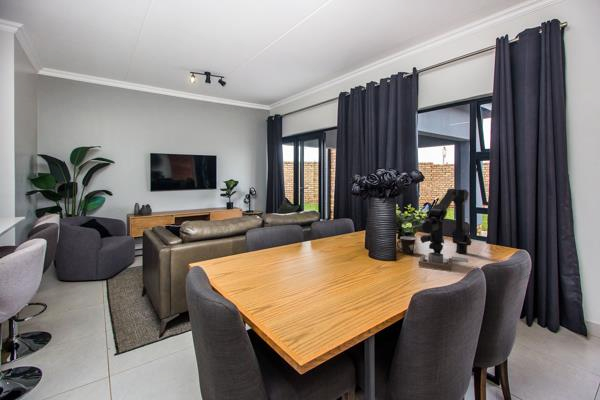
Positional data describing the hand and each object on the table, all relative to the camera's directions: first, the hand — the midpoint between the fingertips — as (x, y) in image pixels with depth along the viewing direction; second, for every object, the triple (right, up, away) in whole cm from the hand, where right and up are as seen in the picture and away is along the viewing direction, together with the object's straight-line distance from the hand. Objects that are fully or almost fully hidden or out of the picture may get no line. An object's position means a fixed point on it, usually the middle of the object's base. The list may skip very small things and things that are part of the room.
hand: (436, 258), depth 157 cm
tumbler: (-3, -3, -5) cm, 6 cm away
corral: (-3, -3, -5) cm, 6 cm away
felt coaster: (+15, -2, +3) cm, 15 cm away
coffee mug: (-11, -1, +17) cm, 20 cm away
